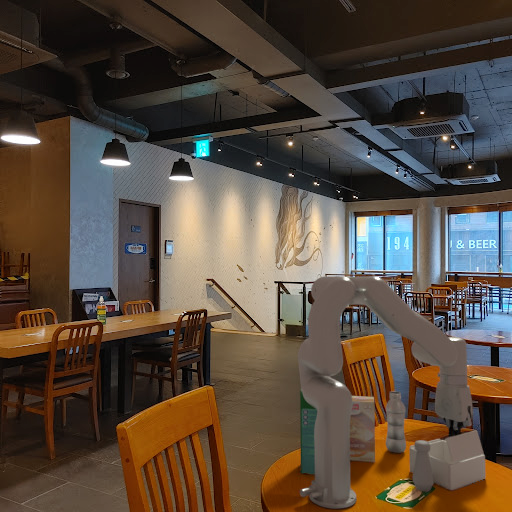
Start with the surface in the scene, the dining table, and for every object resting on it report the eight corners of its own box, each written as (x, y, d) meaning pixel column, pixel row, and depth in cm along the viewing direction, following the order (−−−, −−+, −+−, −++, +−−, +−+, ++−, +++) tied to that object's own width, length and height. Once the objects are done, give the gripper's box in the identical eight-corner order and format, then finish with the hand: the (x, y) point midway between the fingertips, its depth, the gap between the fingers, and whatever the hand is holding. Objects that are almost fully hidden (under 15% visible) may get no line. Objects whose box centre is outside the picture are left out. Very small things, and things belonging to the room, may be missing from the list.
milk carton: (330, 475, 142) (329, 391, 143) (300, 473, 144) (300, 390, 145) (331, 464, 151) (331, 385, 152) (303, 462, 153) (303, 384, 154)
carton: (450, 491, 132) (449, 464, 132) (407, 471, 145) (406, 446, 145) (486, 478, 139) (486, 453, 140) (442, 461, 153) (442, 437, 153)
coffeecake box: (328, 459, 155) (327, 399, 156) (330, 451, 162) (329, 393, 163) (375, 462, 152) (374, 401, 153) (374, 454, 159) (374, 396, 160)
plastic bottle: (391, 446, 166) (390, 389, 167) (409, 451, 161) (408, 392, 162) (382, 451, 161) (381, 392, 162) (400, 457, 157) (399, 396, 157)
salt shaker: (436, 486, 134) (435, 440, 135) (431, 494, 130) (430, 446, 130) (415, 482, 138) (414, 436, 138) (410, 489, 133) (409, 442, 133)
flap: (452, 462, 133) (453, 462, 132) (445, 438, 135) (446, 438, 134) (482, 453, 139) (483, 453, 139) (475, 430, 141) (477, 430, 141)
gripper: (424, 376, 145) (425, 436, 144) (467, 386, 132) (469, 452, 132) (441, 373, 149) (442, 432, 148) (484, 382, 136) (486, 447, 135)
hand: (454, 441), depth 140 cm, fingers closed
